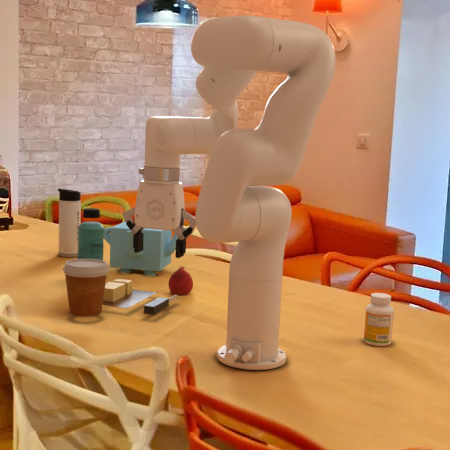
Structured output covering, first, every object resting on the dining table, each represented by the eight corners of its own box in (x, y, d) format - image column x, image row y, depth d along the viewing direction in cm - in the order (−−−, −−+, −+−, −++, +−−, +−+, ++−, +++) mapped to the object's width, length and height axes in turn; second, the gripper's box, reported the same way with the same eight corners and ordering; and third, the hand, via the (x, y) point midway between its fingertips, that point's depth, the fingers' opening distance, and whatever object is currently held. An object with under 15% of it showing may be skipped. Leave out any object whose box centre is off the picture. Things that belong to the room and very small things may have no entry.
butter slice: (127, 295, 172) (127, 282, 171) (111, 293, 173) (112, 280, 173) (132, 292, 174) (132, 280, 174) (116, 290, 175) (117, 278, 175)
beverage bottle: (70, 290, 180) (71, 208, 177) (87, 285, 186) (89, 205, 183) (92, 294, 177) (93, 211, 174) (108, 289, 183) (110, 208, 180)
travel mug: (55, 253, 223) (55, 187, 220) (77, 253, 226) (77, 187, 223) (60, 258, 217) (60, 189, 214) (82, 256, 220) (83, 189, 217)
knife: (153, 321, 157) (154, 306, 156) (143, 320, 157) (143, 305, 157) (180, 305, 171) (181, 291, 170) (171, 303, 172) (171, 290, 171)
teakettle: (96, 268, 206) (96, 215, 204) (154, 262, 217) (156, 212, 215) (128, 282, 191) (129, 225, 189) (189, 275, 202) (191, 221, 200)
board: (127, 314, 161) (127, 308, 161) (78, 308, 165) (78, 301, 164) (157, 298, 176) (157, 292, 176) (111, 292, 180) (112, 286, 179)
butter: (113, 302, 165) (113, 289, 165) (96, 300, 166) (97, 287, 166) (125, 296, 171) (125, 283, 170) (109, 294, 172) (109, 281, 171)
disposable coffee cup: (63, 325, 151) (64, 268, 149) (61, 313, 160) (61, 258, 158) (110, 324, 153) (112, 267, 152) (105, 311, 162) (106, 258, 161)
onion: (188, 303, 173) (190, 269, 172) (165, 301, 174) (166, 267, 173) (194, 297, 178) (196, 264, 177) (171, 295, 180) (172, 262, 178)
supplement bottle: (371, 336, 153) (375, 290, 151) (395, 342, 149) (399, 295, 148) (358, 342, 148) (362, 294, 147) (383, 348, 145) (386, 300, 144)
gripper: (117, 173, 157) (114, 252, 159) (193, 180, 151) (189, 262, 154) (132, 170, 164) (130, 247, 166) (206, 177, 158) (202, 255, 161)
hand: (158, 254), depth 160 cm, fingers open, 9 cm apart
